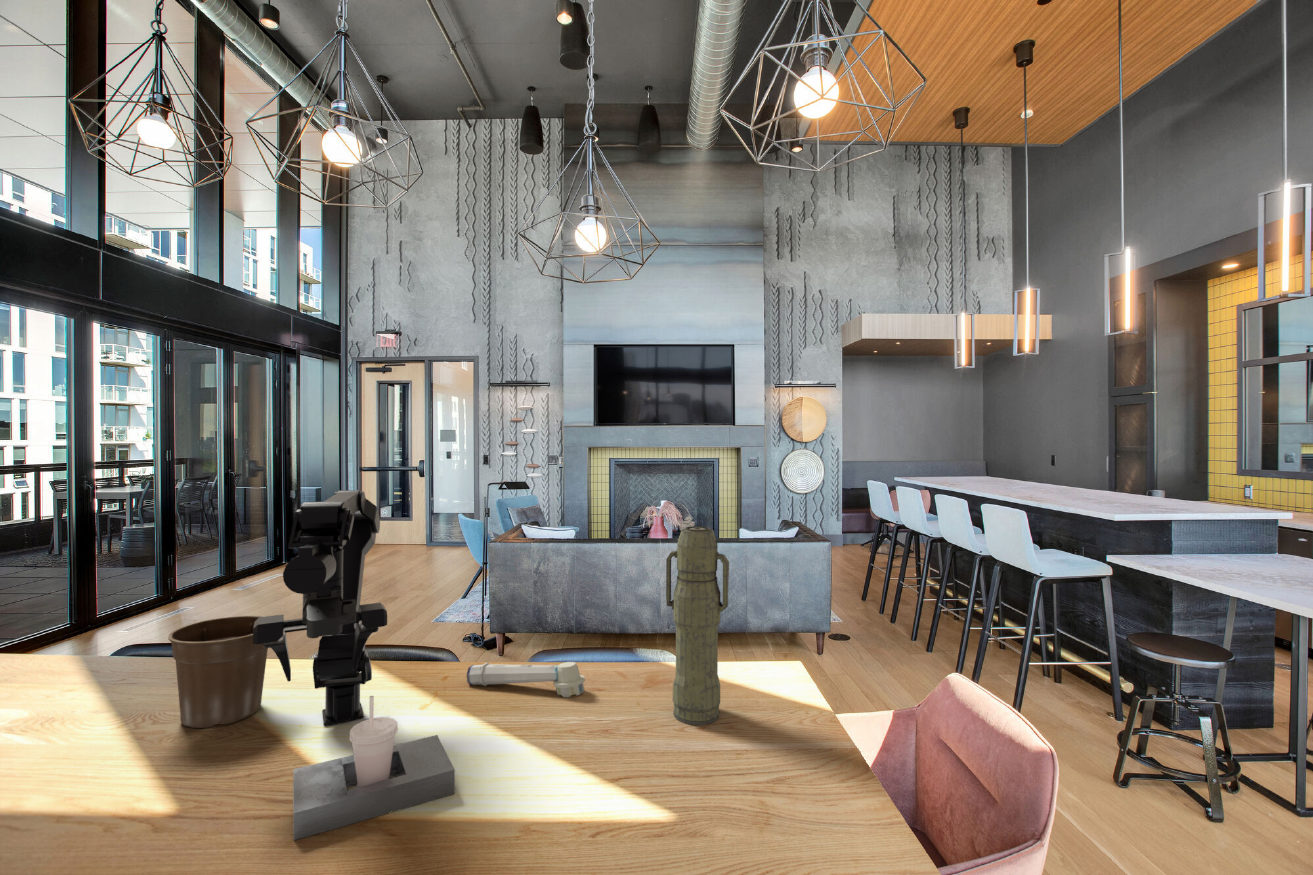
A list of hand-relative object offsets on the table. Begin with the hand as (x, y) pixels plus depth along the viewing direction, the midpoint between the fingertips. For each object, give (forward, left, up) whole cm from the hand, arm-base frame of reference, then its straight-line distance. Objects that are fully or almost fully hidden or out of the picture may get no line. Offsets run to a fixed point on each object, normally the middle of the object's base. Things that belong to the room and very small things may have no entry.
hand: (322, 674), depth 98 cm
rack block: (+16, +6, -13) cm, 21 cm away
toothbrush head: (-9, +37, -14) cm, 41 cm away
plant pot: (-26, -15, -13) cm, 33 cm away
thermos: (+19, +61, -13) cm, 65 cm away
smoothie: (+16, +6, -13) cm, 22 cm away
